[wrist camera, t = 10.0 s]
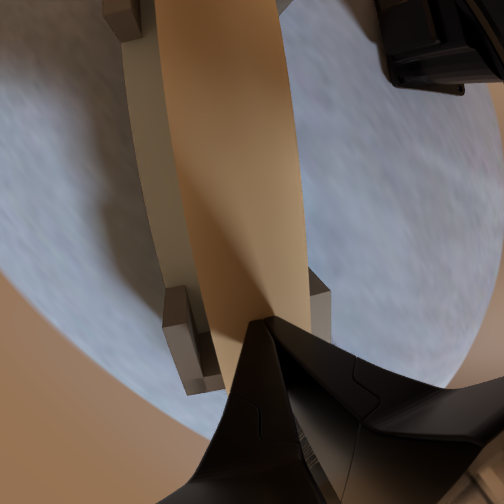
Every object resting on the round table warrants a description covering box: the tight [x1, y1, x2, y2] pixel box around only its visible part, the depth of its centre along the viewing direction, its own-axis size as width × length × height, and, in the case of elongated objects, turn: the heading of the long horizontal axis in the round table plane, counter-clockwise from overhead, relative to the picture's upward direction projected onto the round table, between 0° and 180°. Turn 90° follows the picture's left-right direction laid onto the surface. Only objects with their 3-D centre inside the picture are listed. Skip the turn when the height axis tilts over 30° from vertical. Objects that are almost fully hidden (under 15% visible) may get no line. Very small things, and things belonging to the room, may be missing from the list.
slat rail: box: [103, 0, 331, 396], centre depth 12 cm, size 7×21×4 cm, turn 7°
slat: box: [155, 0, 311, 395], centre depth 10 cm, size 3×16×6 cm, turn 7°
